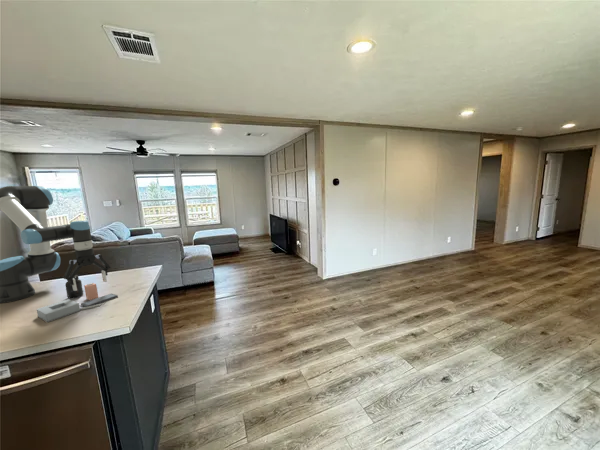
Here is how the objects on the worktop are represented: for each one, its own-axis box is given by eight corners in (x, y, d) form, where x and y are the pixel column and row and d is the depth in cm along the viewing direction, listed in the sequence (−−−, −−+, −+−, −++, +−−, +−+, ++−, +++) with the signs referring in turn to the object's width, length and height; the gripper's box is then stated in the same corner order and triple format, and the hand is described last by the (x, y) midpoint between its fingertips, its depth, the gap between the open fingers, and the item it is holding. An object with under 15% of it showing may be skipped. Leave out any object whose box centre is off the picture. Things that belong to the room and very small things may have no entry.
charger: (86, 299, 136) (83, 284, 135) (95, 296, 140) (92, 282, 138) (89, 300, 134) (87, 285, 133) (98, 297, 138) (96, 283, 136)
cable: (79, 310, 122) (78, 308, 122) (79, 309, 123) (79, 308, 123) (100, 306, 126) (100, 304, 126) (100, 305, 127) (100, 303, 127)
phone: (81, 305, 128) (80, 303, 128) (111, 295, 140) (111, 293, 140) (87, 308, 125) (86, 306, 125) (117, 297, 137) (117, 295, 137)
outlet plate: (38, 316, 117) (36, 309, 117) (70, 306, 128) (68, 299, 127) (47, 322, 112) (45, 314, 111) (80, 310, 122) (78, 303, 121)
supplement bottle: (73, 299, 136) (70, 278, 135) (64, 298, 138) (60, 278, 136) (86, 294, 143) (83, 274, 141) (77, 293, 145) (74, 274, 143)
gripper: (56, 255, 120) (64, 295, 123) (113, 244, 142) (119, 279, 145) (50, 253, 124) (58, 293, 127) (107, 243, 145) (112, 277, 148)
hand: (90, 285), depth 136 cm, fingers open, 13 cm apart
